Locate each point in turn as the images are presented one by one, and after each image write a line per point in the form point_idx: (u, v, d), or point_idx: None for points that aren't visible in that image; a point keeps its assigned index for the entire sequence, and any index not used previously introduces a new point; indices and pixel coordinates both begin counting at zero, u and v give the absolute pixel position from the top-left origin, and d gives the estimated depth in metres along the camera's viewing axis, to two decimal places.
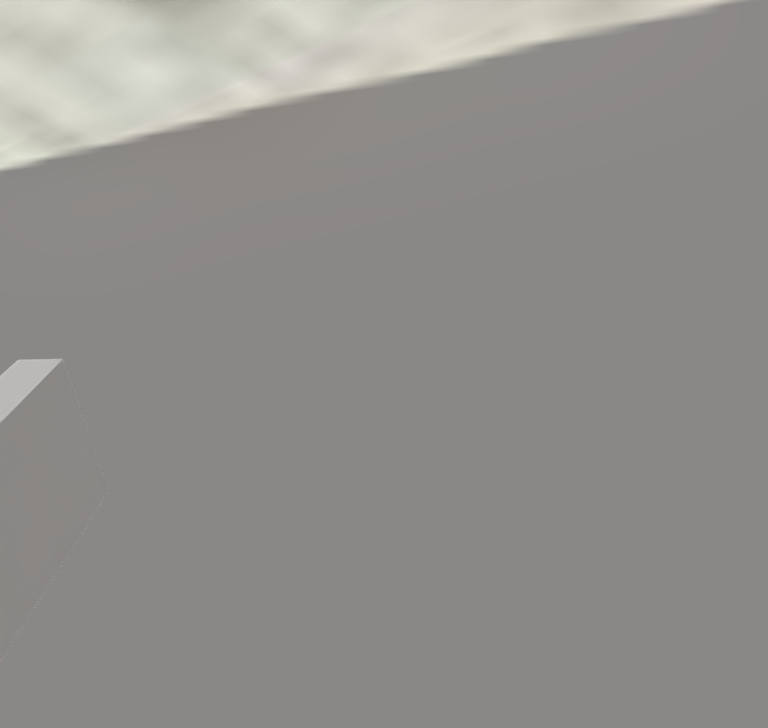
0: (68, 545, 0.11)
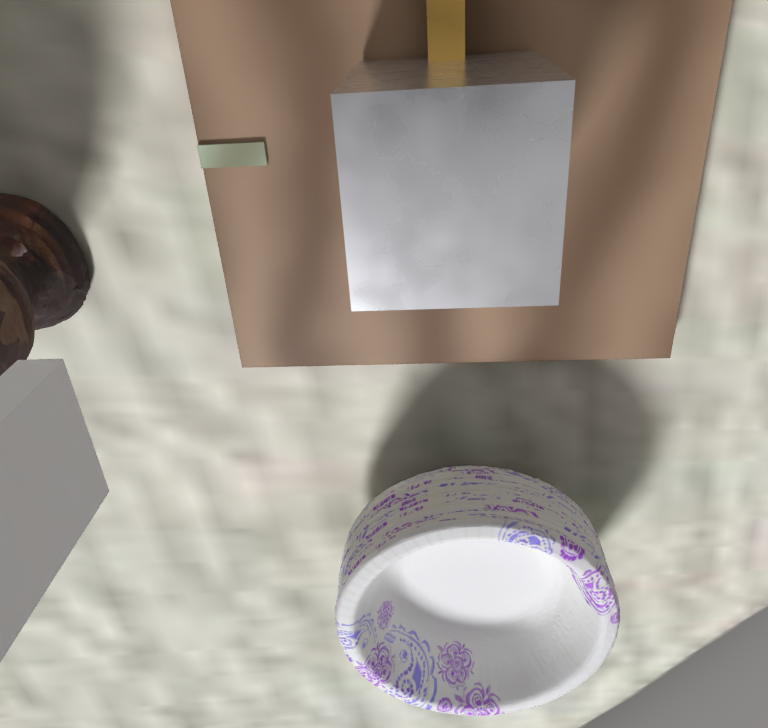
0: (68, 545, 0.11)
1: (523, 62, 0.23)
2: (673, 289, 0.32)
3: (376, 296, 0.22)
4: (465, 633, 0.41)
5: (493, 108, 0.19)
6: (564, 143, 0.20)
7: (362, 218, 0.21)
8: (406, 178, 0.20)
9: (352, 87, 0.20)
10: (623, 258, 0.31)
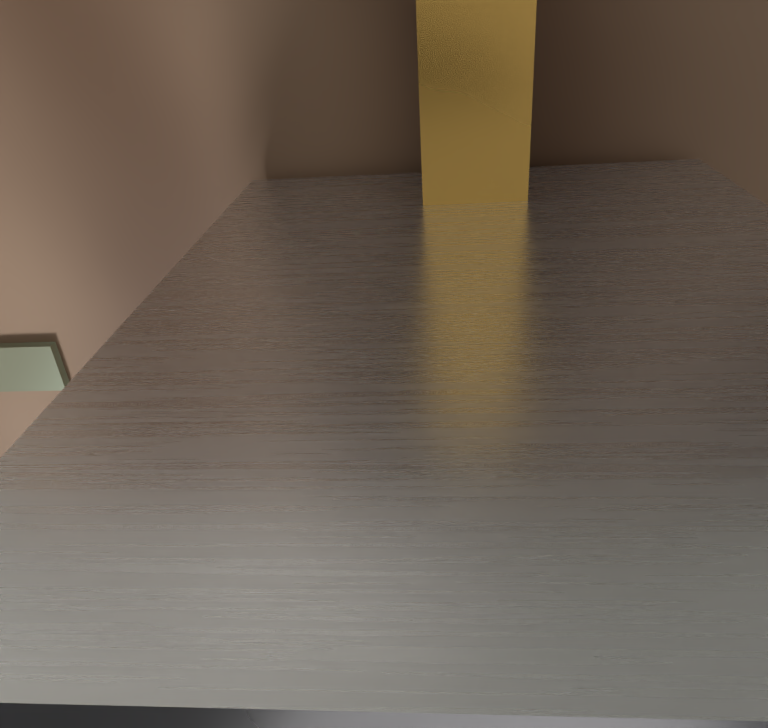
0: None
1: (743, 251, 0.07)
2: None
3: None
4: None
5: None
6: None
7: None
8: None
9: (28, 517, 0.04)
10: None
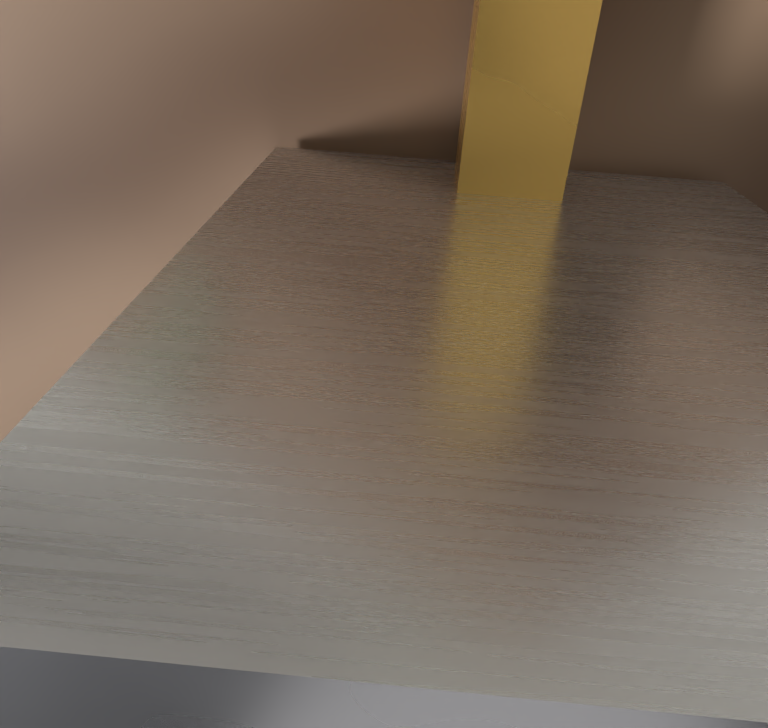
0: None
1: None
2: None
3: None
4: None
5: None
6: None
7: None
8: None
9: (82, 461, 0.04)
10: None
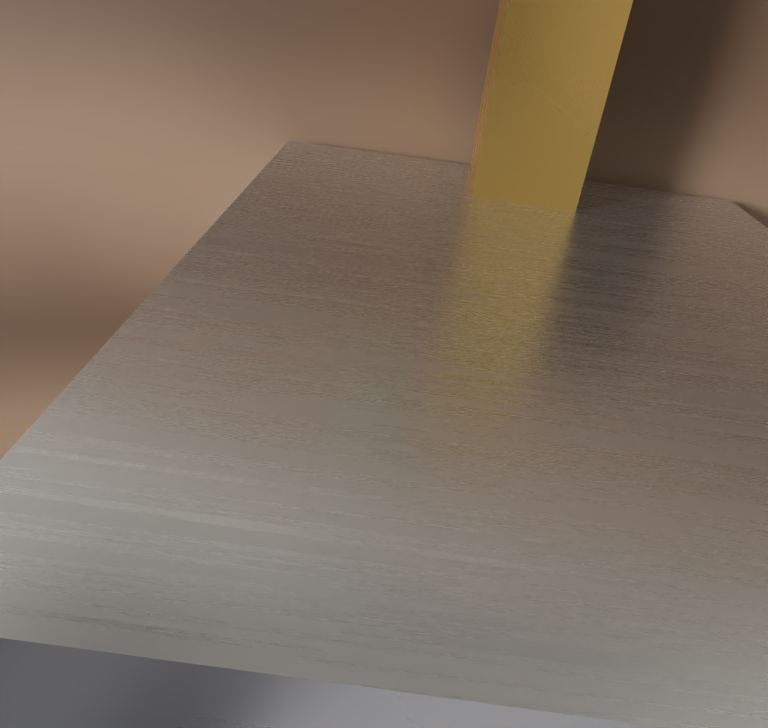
0: None
1: None
2: None
3: None
4: None
5: None
6: None
7: None
8: None
9: (113, 453, 0.04)
10: None
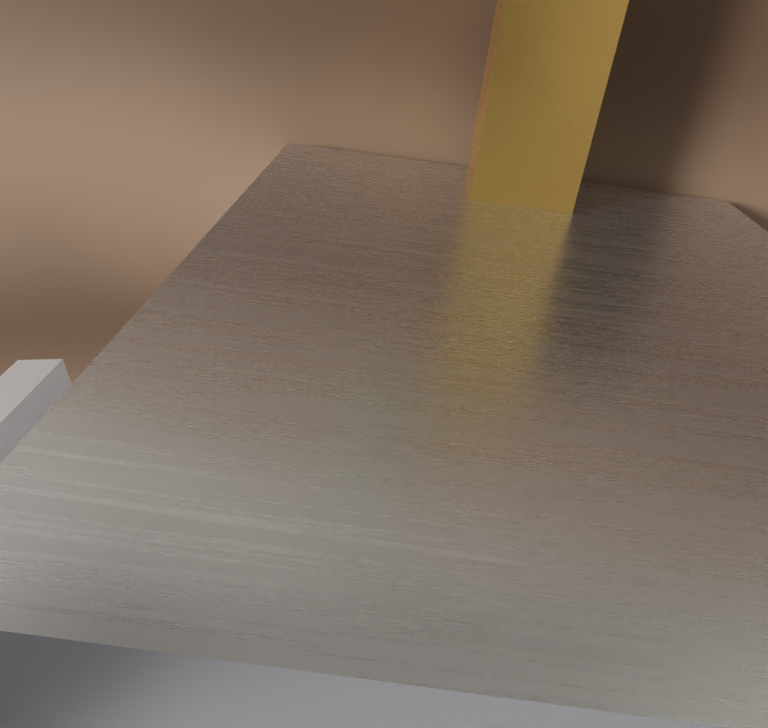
0: None
1: None
2: None
3: None
4: None
5: None
6: None
7: None
8: None
9: (114, 452, 0.04)
10: None
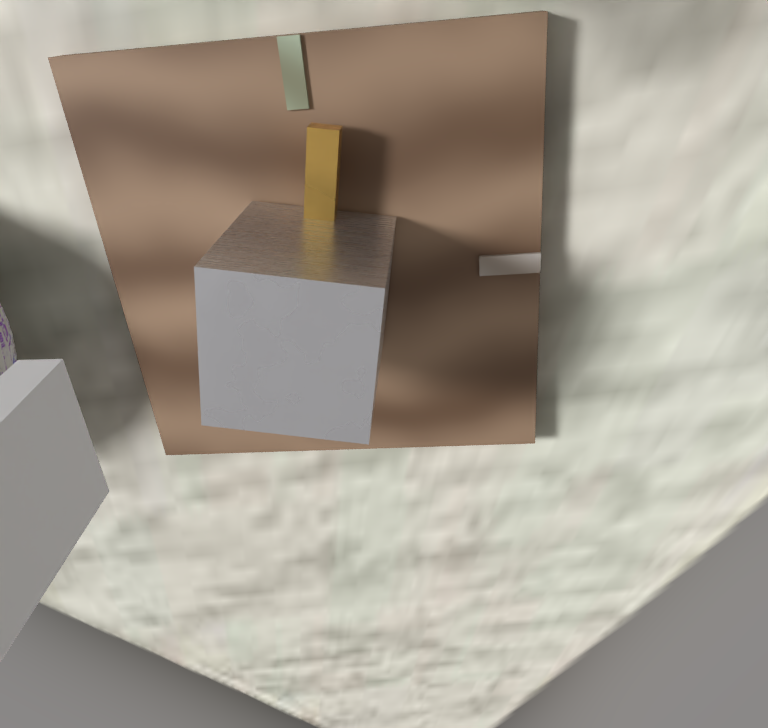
0: (68, 545, 0.11)
1: (372, 240, 0.29)
2: (224, 447, 0.40)
3: (222, 416, 0.27)
4: None
5: (321, 297, 0.24)
6: (375, 330, 0.25)
7: (214, 358, 0.26)
8: (251, 334, 0.25)
9: (217, 257, 0.25)
10: None
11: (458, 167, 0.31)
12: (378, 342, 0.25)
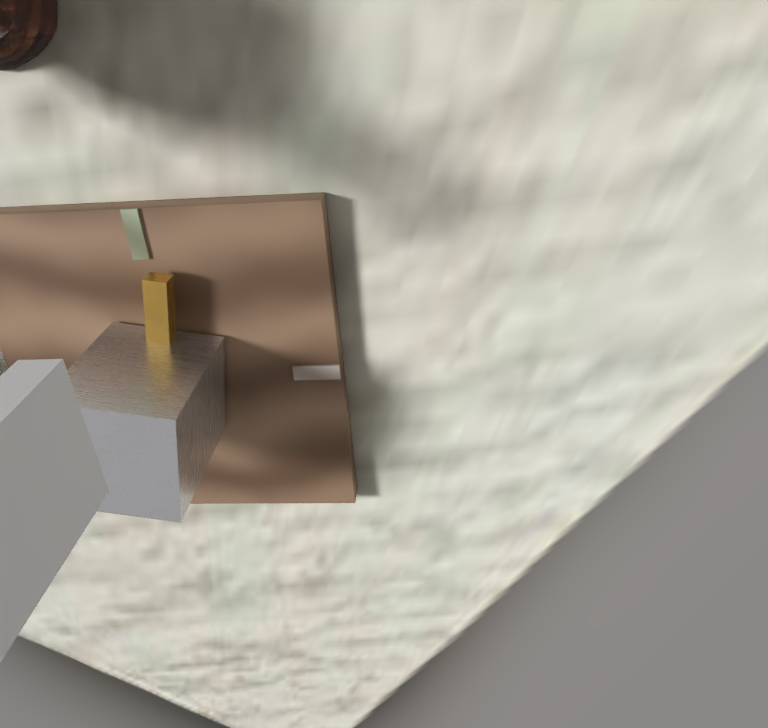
0: (68, 545, 0.11)
1: (190, 366, 0.38)
2: None
3: None
4: None
5: (131, 424, 0.34)
6: (173, 447, 0.34)
7: None
8: None
9: None
10: None
11: (268, 302, 0.40)
12: (176, 454, 0.34)
